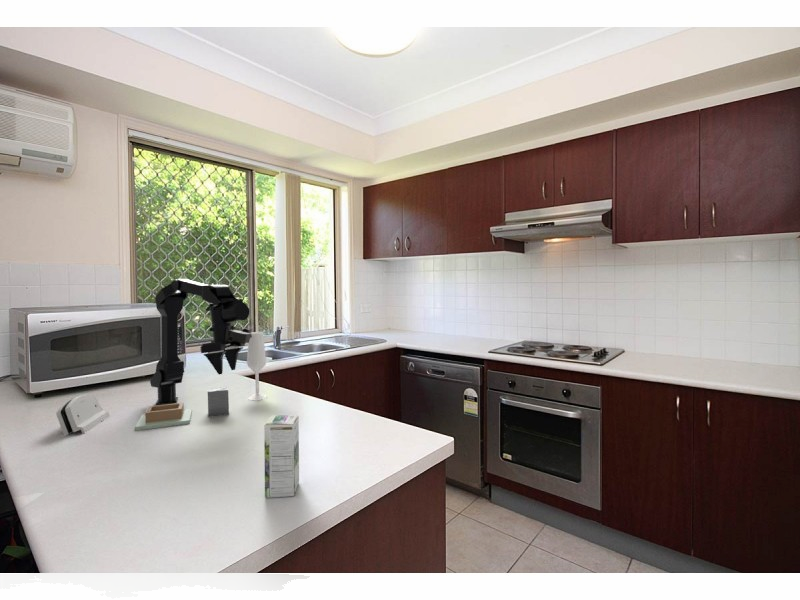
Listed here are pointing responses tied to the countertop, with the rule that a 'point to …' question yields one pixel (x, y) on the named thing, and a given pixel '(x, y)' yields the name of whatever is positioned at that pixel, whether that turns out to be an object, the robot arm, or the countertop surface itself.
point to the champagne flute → (256, 360)
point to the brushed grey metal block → (218, 402)
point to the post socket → (164, 416)
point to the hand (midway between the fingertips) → (227, 372)
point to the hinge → (80, 414)
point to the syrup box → (281, 455)
